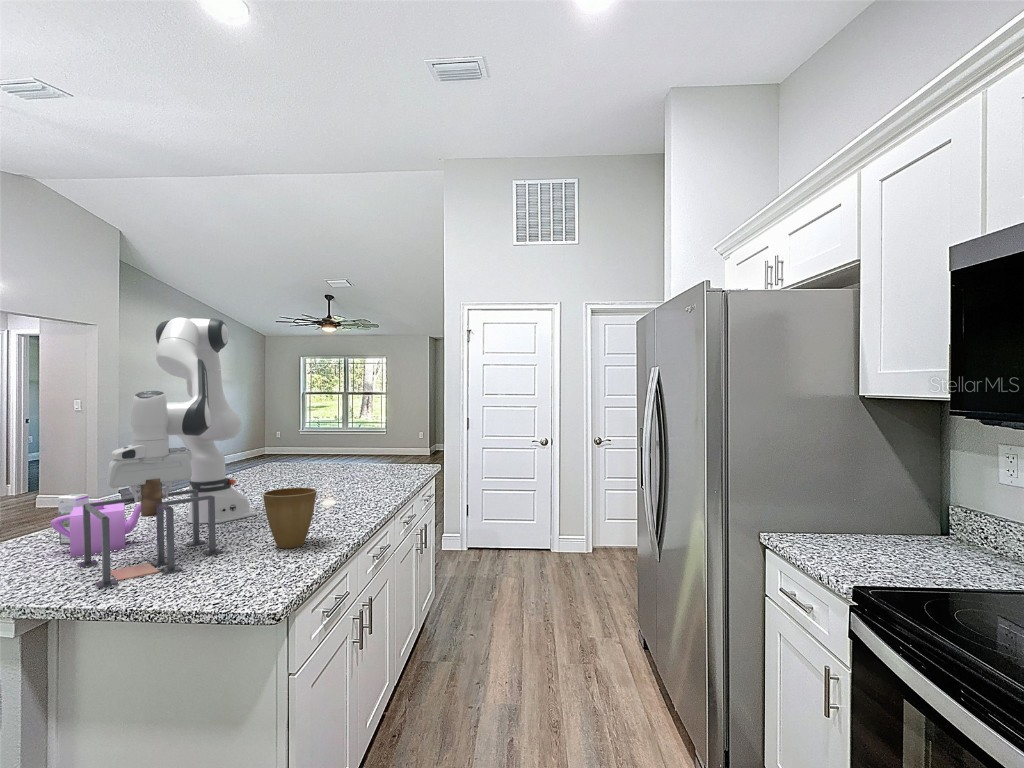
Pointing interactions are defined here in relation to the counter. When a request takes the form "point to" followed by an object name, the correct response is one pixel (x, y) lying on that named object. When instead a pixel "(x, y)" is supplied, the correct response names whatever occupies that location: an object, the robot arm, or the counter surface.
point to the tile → (134, 571)
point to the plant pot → (290, 514)
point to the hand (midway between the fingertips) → (151, 499)
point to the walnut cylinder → (150, 497)
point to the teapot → (97, 527)
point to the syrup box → (69, 510)
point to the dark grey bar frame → (160, 533)
